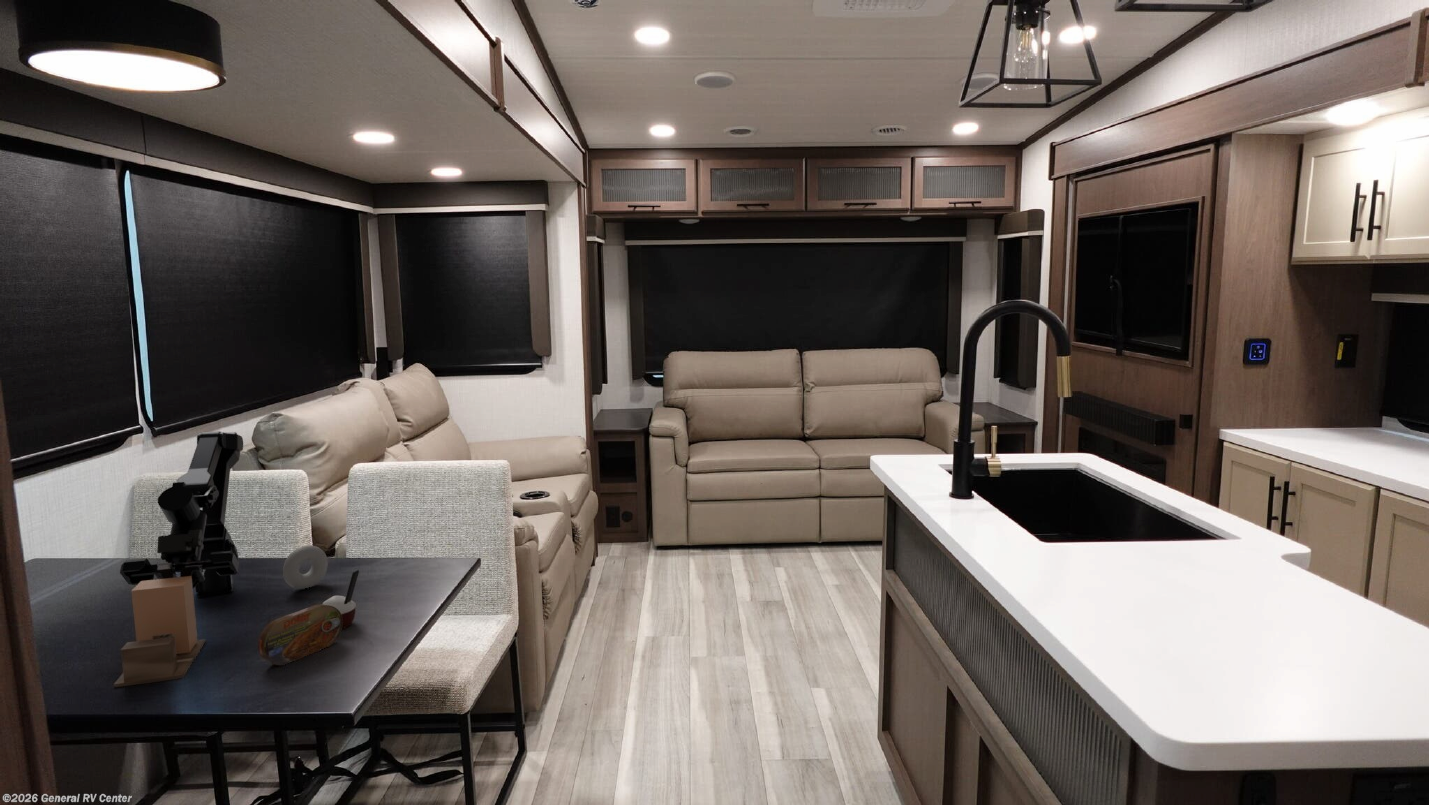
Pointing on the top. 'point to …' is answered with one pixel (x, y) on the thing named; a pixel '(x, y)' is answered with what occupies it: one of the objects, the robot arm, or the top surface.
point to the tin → (300, 634)
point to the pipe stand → (154, 661)
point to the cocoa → (345, 602)
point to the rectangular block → (166, 611)
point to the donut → (294, 563)
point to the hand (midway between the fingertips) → (174, 608)
